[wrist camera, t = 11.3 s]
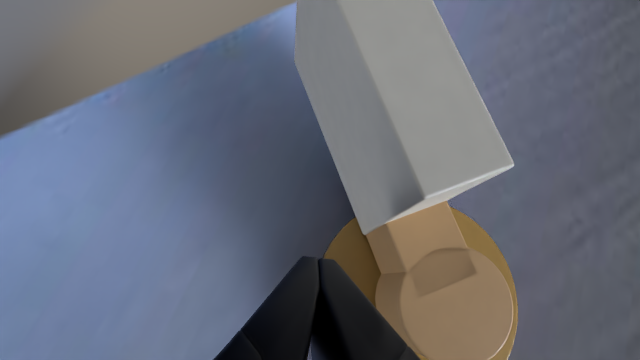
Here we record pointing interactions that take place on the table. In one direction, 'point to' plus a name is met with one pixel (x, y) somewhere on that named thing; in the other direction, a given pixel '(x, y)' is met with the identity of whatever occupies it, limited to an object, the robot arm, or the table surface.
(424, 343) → the block on round stand
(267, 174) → the table surface
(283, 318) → the robot arm
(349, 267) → the swivel base
